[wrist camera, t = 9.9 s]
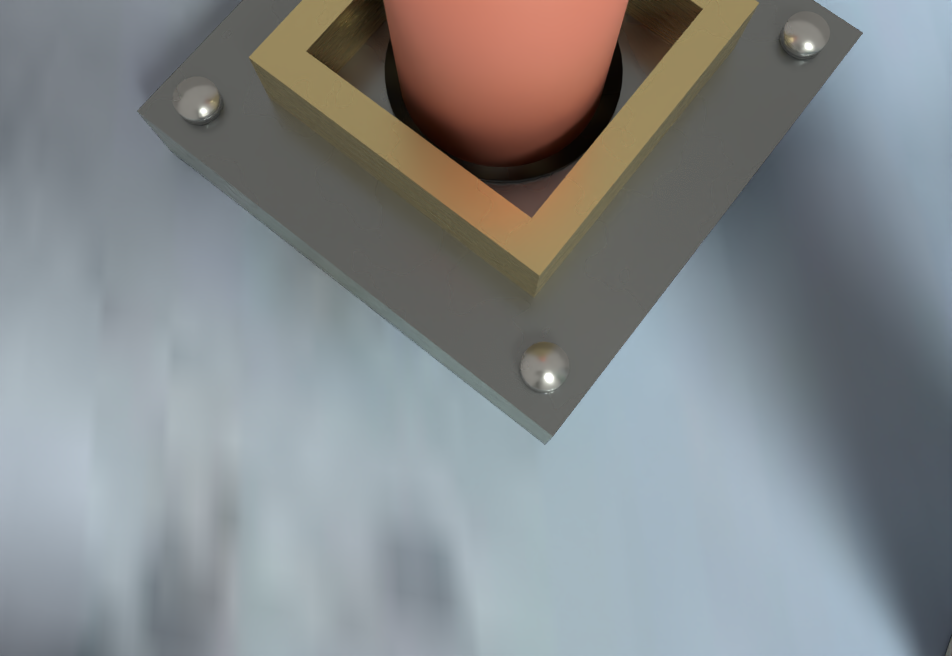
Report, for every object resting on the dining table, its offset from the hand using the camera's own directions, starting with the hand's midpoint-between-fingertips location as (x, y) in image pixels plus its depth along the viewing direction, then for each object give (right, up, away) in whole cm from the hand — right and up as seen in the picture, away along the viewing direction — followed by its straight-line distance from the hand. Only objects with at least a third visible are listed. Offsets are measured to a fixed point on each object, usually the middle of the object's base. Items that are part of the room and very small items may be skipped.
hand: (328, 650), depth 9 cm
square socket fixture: (+2, +10, +16) cm, 19 cm away
